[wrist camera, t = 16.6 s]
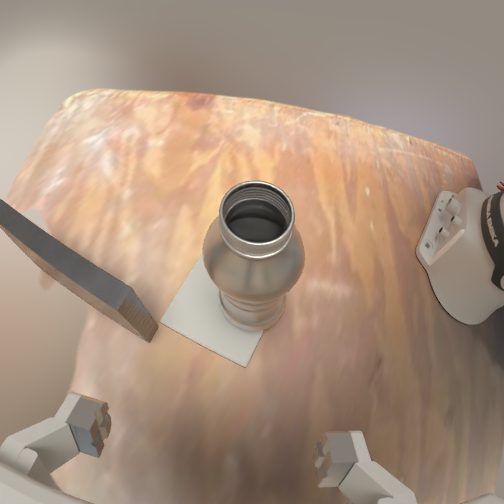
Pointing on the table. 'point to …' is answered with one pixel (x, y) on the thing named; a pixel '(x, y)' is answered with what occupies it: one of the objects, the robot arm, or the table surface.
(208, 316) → the rubber pad
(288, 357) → the table surface
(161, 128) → the table surface
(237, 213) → the plastic bottle
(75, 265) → the panel
